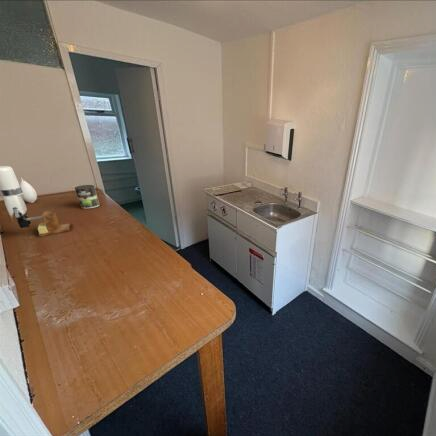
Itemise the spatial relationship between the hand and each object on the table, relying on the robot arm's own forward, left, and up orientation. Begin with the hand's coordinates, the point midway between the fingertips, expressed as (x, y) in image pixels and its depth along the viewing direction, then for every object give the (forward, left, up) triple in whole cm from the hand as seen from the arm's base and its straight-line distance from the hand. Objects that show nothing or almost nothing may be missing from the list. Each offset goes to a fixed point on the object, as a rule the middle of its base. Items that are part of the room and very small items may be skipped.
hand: (25, 225), depth 120 cm
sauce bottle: (-6, +66, -6) cm, 67 cm away
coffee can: (+26, +36, -6) cm, 45 cm away
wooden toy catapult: (+10, 0, -6) cm, 11 cm away
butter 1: (+6, +2, -4) cm, 8 cm away
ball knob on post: (+5, 0, +2) cm, 5 cm away
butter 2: (+6, -2, -4) cm, 8 cm away
